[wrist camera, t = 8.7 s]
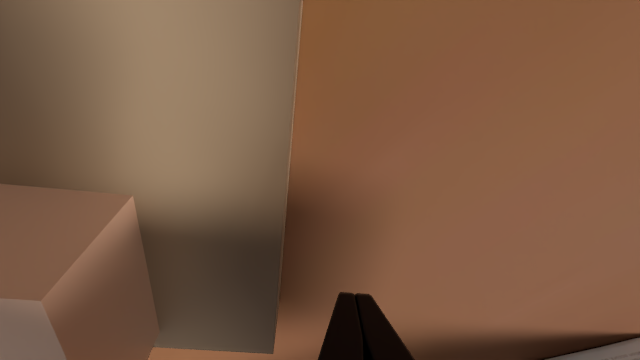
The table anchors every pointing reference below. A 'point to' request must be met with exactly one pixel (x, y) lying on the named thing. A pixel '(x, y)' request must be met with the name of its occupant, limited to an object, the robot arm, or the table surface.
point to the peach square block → (73, 277)
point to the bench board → (166, 141)
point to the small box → (607, 352)
